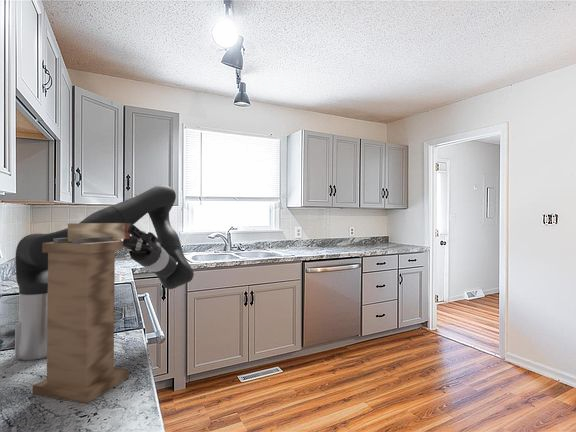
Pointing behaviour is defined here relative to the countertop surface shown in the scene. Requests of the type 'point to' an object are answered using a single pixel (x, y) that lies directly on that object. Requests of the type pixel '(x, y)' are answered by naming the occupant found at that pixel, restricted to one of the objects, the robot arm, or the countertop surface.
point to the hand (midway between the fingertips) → (115, 227)
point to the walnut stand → (80, 320)
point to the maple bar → (98, 230)
